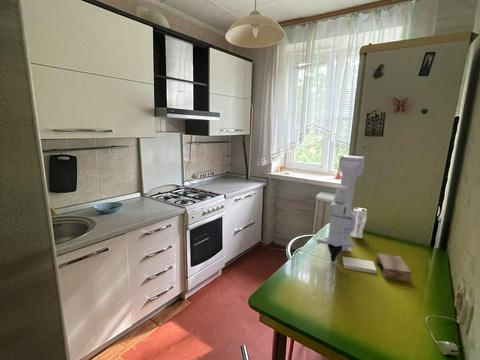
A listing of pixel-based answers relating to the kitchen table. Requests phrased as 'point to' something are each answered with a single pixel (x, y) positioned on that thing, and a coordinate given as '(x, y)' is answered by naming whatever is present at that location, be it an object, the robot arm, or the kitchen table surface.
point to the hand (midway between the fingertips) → (332, 260)
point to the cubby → (393, 267)
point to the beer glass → (359, 222)
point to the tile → (359, 265)
